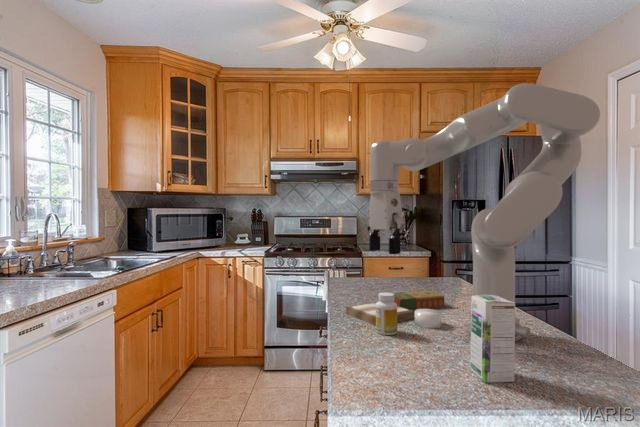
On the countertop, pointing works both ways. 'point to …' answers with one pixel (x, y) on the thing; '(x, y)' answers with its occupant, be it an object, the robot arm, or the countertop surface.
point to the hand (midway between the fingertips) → (384, 251)
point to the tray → (369, 313)
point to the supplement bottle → (386, 314)
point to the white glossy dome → (428, 318)
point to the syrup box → (493, 338)
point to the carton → (419, 300)
